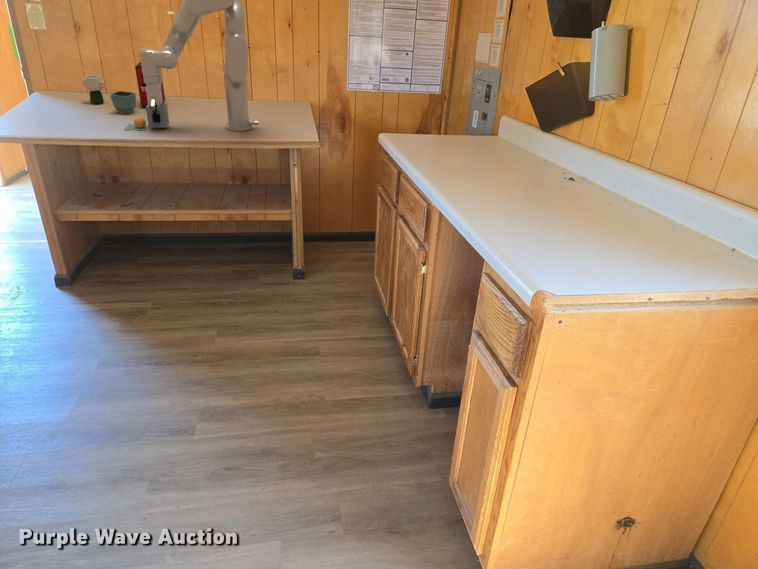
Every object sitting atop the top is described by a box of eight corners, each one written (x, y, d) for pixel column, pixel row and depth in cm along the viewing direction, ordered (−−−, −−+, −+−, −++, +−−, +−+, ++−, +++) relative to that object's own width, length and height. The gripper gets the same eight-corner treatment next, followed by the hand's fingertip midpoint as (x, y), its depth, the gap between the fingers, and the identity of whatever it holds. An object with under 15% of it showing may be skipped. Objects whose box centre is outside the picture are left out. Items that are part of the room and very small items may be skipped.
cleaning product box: (160, 108, 270) (154, 67, 259) (141, 108, 268) (135, 66, 257) (165, 101, 283) (159, 61, 273) (147, 100, 282) (141, 60, 271)
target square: (149, 125, 245) (149, 124, 244) (145, 130, 237) (145, 130, 237) (128, 124, 243) (128, 124, 243) (124, 130, 235) (124, 129, 235)
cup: (169, 122, 245) (166, 103, 240) (166, 127, 239) (164, 107, 234) (151, 122, 243) (148, 102, 239) (148, 127, 237) (145, 107, 232)
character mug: (111, 102, 273) (106, 76, 266) (104, 105, 267) (99, 78, 260) (90, 100, 273) (85, 74, 266) (83, 103, 267) (77, 76, 260)
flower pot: (131, 115, 256) (128, 96, 251) (113, 113, 256) (109, 94, 251) (138, 110, 263) (135, 92, 259) (121, 109, 263) (117, 90, 259)
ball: (136, 113, 239) (134, 124, 241) (134, 116, 235) (131, 127, 237) (147, 117, 241) (145, 128, 243) (145, 120, 237) (143, 130, 239)
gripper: (147, 75, 237) (153, 114, 246) (139, 83, 223) (146, 125, 232) (165, 75, 238) (170, 115, 248) (158, 84, 224) (164, 125, 233)
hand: (158, 119), depth 240 cm, fingers closed on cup, 7 cm apart
